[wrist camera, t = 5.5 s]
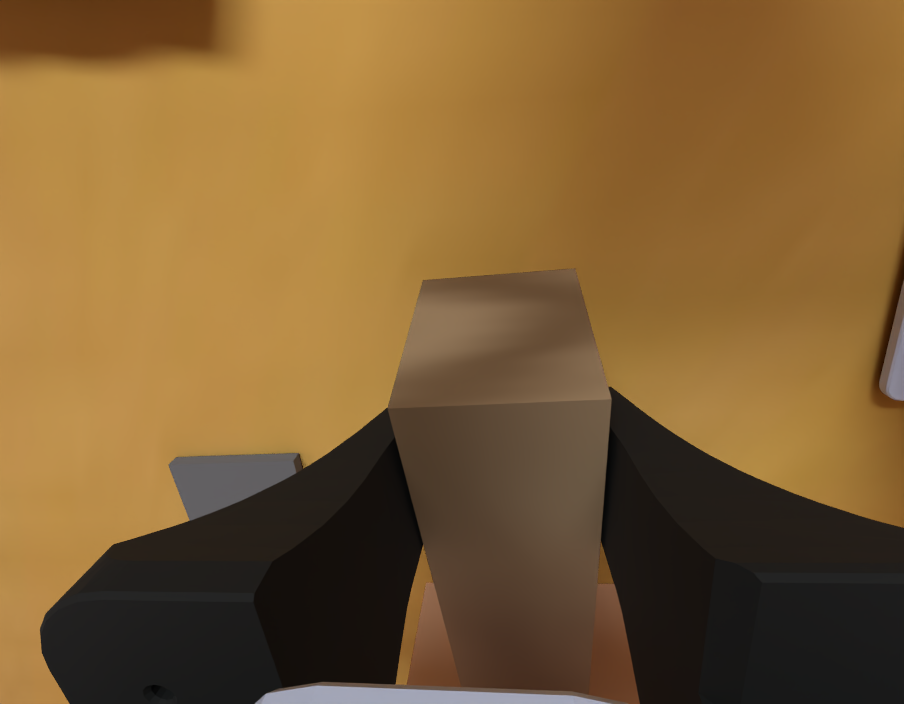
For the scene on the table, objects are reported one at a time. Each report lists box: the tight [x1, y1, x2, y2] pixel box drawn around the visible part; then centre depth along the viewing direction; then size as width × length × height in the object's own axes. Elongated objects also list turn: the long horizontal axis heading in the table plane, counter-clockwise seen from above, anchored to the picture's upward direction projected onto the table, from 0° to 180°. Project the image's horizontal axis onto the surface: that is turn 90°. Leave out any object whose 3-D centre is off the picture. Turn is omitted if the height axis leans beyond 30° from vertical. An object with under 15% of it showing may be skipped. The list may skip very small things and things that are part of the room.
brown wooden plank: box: [388, 269, 612, 695], centre depth 13 cm, size 4×12×4 cm, turn 6°
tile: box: [407, 583, 640, 704], centre depth 17 cm, size 8×2×7 cm, turn 96°
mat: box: [169, 453, 303, 521], centre depth 21 cm, size 5×13×1 cm, turn 6°
